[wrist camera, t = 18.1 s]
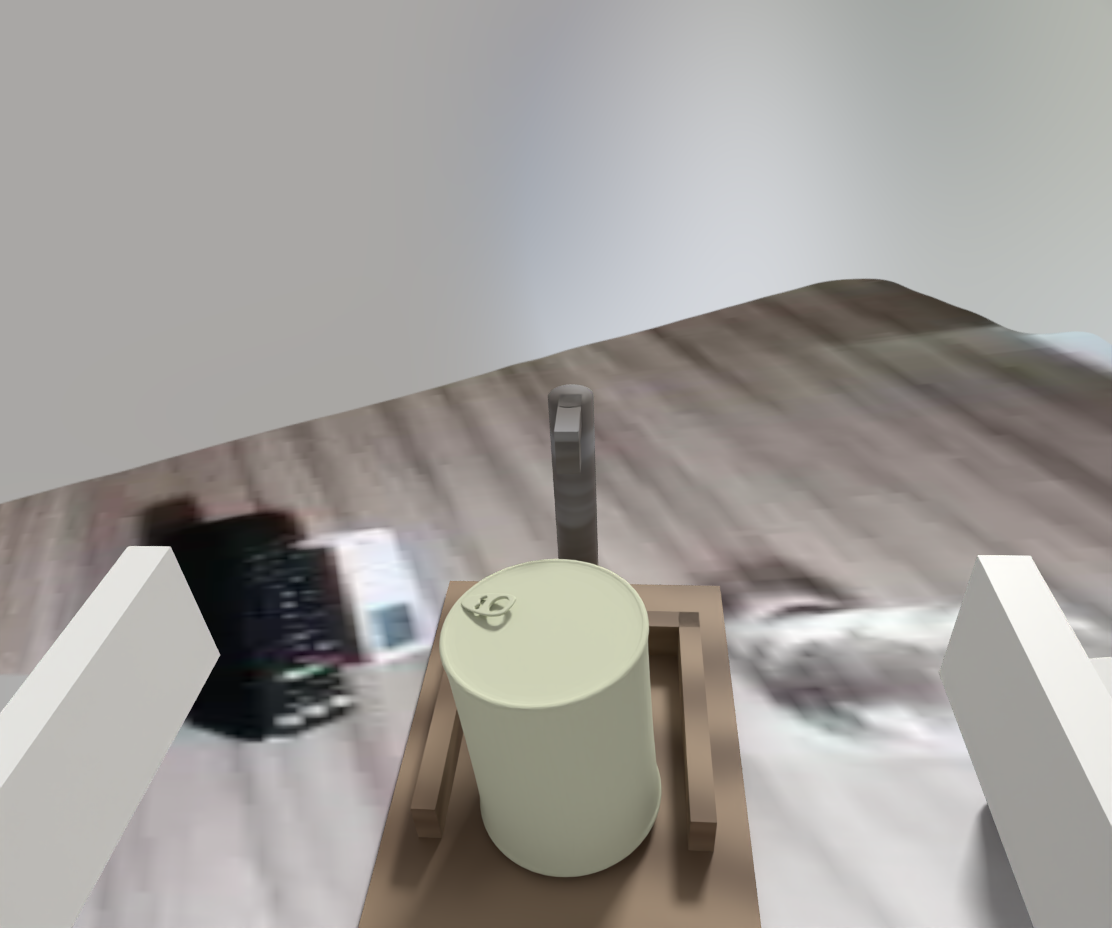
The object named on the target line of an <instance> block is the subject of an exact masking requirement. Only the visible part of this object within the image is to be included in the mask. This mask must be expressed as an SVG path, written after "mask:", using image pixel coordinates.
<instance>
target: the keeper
mask: <svg viewBox="0 0 1112 928" xmlns="http://www.w3.org/2000/svg"><path fill="white" fill-rule="evenodd" d="M548 407H549V422H550V437H551V452H552V467H553V482H554V497H555V513H556V528H557V543H558V558H559V559H567V560H577V561H582V562H587V563H591V564H594V565H597V566H598V540H597V504H596V468H595V432H594V396H593V392H592V391H591V390H590V389H589V388H587V387H585V386H581V385H563V386H559V387H557V388H555V389H553V390H552V391H551V392H550V393H549V394H548ZM478 582H479V581H450V583H449V587H448V590H447V594H446V598H445V602H444V606H443V609H442V613H441V617H440V621H439V624H438V628H437V632H436V636H435V640H434V643H433V647H432V651H431V655H430V658H429V662H428V666H427V670H426V674H425V677H424V681H423V685H422V689H421V692H420V696H419V700H418V704H417V708H416V711H415V715H414V719H413V723H412V726H411V730H410V734H409V738H408V742H407V745H406V749H405V753H404V757H403V760H402V764H401V768H400V772H399V776H398V779H397V783H396V787H395V791H394V794H393V798H392V802H391V806H390V809H389V813H388V817H387V821H386V825H385V828H384V832H383V836H382V840H381V843H380V847H379V851H378V855H377V859H376V862H375V866H374V870H373V874H372V877H371V881H370V885H369V889H368V893H367V896H366V900H365V904H364V908H363V911H362V915H361V919H360V923H359V927H358V928H761V922H760V914H759V906H758V897H757V889H756V881H755V873H754V864H753V856H752V848H751V840H750V831H749V823H748V815H747V806H746V798H745V790H744V782H743V773H742V765H741V757H740V749H739V740H738V732H737V724H736V716H735V707H734V699H733V691H732V683H731V674H730V666H729V658H728V649H727V641H726V633H725V625H724V616H723V608H722V600H721V592H720V586H693V585H639V584H630V585H631V586H632V587H633V588H634V589H635V590H636V592H637V593H638V595H639V596H640V598H641V599H642V601H643V603H644V605H645V608H646V611H647V615H648V621H649V635H648V654H649V672H650V688H651V703H652V718H653V731H654V742H655V754H656V764H657V767H658V770H659V774H660V778H661V802H660V807H659V811H658V814H657V817H656V820H655V822H654V824H653V826H652V828H651V830H650V831H649V833H648V835H647V836H646V837H645V839H644V840H643V841H642V843H641V844H640V845H639V846H638V847H637V848H636V849H635V850H634V851H633V852H632V853H631V854H630V855H628V856H627V857H625V858H624V859H623V860H621V861H620V862H618V863H616V864H614V865H612V866H610V867H609V868H607V869H604V870H601V871H599V872H596V873H592V874H589V875H584V876H577V877H554V876H547V875H543V874H539V873H536V872H532V871H530V870H528V869H526V868H523V867H521V866H520V865H518V864H516V863H515V862H513V861H512V860H510V859H509V858H508V857H507V856H505V855H504V854H503V853H502V852H501V851H500V850H499V849H498V847H497V846H496V845H495V844H494V842H493V841H492V839H491V838H490V836H489V834H488V832H487V830H486V828H485V825H484V822H483V819H482V815H481V809H480V795H479V790H478V786H477V782H476V778H475V774H474V770H473V766H472V762H471V759H470V755H469V751H468V747H467V743H466V740H465V736H464V732H463V729H462V725H461V722H460V718H459V715H458V711H457V707H456V704H455V700H454V697H453V693H452V690H451V686H450V682H449V679H448V676H447V674H446V672H445V670H444V668H443V665H442V661H441V658H440V652H439V641H440V633H441V630H442V626H443V623H444V621H445V619H446V617H447V615H448V613H449V612H450V610H451V608H452V607H453V606H454V604H455V603H456V602H457V601H458V599H459V598H460V597H461V596H462V595H463V594H464V593H465V592H466V591H468V590H469V589H470V588H471V587H473V586H474V585H475V584H477V583H478Z"/></svg>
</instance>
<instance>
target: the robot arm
mask: <svg viewBox="0 0 1112 928" xmlns="http://www.w3.org/2000/svg"><path fill="white" fill-rule="evenodd" d="M219 656H220V654H219V652H218V649H217V647H216V645H215V643H214V641H213V639H212V636H211V634H210V632H209V630H208V628H207V625H206V623H205V621H204V619H203V617H202V615H201V612H200V610H199V608H198V606H197V604H196V601H195V599H194V597H193V595H192V593H191V590H190V588H189V586H188V584H187V582H186V580H185V577H184V575H183V573H182V571H181V569H180V566H179V564H178V562H177V560H176V558H175V556H174V553H173V551H172V549H171V547H159V546H128V547H127V549H126V550H125V551H124V553H123V554H122V555H121V556H120V558H119V559H118V560H117V562H116V563H115V564H114V566H113V567H112V568H111V569H110V571H109V572H108V573H107V575H106V576H105V577H104V579H103V580H102V581H101V583H100V584H99V585H98V586H97V588H96V589H95V590H94V592H93V593H92V594H91V596H90V597H89V598H88V599H87V601H86V602H85V603H84V605H83V606H82V607H81V609H80V610H79V611H78V613H77V614H76V615H75V616H74V618H73V619H72V620H71V622H70V623H69V624H68V626H67V627H66V628H65V629H64V631H63V632H62V633H61V635H60V636H59V637H58V639H57V640H56V641H55V643H54V644H53V645H52V646H51V648H50V649H49V650H48V652H47V653H46V654H45V656H44V657H43V658H42V659H41V661H40V662H39V663H38V665H37V666H36V667H35V669H34V670H33V671H32V673H31V674H30V675H29V677H28V678H27V679H26V680H25V682H24V683H23V684H22V686H21V687H20V688H19V689H18V691H17V692H16V694H15V695H14V696H13V697H12V699H11V700H10V701H9V703H8V704H7V705H6V706H5V708H4V709H3V710H2V712H1V713H0V928H72V927H73V925H74V923H75V922H76V920H77V918H78V916H79V914H80V912H81V911H82V909H83V907H84V905H85V903H86V901H87V899H88V898H89V896H90V894H91V892H92V890H93V888H94V887H95V885H96V883H97V881H98V879H99V877H100V875H101V874H102V872H103V870H104V868H105V866H106V864H107V863H108V861H109V859H110V857H111V855H112V853H113V851H114V850H115V848H116V846H117V844H118V842H119V840H120V839H121V837H122V835H123V833H124V831H125V829H126V827H127V826H128V824H129V822H130V820H131V818H132V816H133V815H134V813H135V811H136V809H137V807H138V805H139V803H140V802H141V800H142V798H143V796H144V794H145V792H146V791H147V789H148V787H149V785H150V783H151V781H152V779H153V778H154V776H155V774H156V772H157V770H158V768H159V767H160V765H161V763H162V761H163V759H164V757H165V756H166V754H167V752H168V750H169V748H170V746H171V744H172V743H173V741H174V739H175V737H176V735H177V733H178V732H179V730H180V728H181V726H182V724H183V722H184V720H185V719H186V717H187V715H188V713H189V711H190V709H191V708H192V706H193V704H194V702H195V700H196V698H197V696H198V695H199V693H200V691H201V689H202V687H203V685H204V684H205V682H206V680H207V678H208V676H209V674H210V672H211V671H212V669H213V667H214V665H215V663H216V661H217V660H218V658H219ZM939 675H940V678H941V680H942V683H943V686H944V688H945V691H946V694H947V696H948V699H949V702H950V704H951V707H952V710H953V712H954V715H955V718H956V720H957V723H958V726H959V729H960V731H961V734H962V737H963V739H964V742H965V745H966V747H967V750H968V753H969V755H970V758H971V761H972V763H973V766H974V769H975V771H976V774H977V777H978V779H979V782H980V785H981V787H982V790H983V793H984V796H985V798H986V801H987V804H988V806H989V809H990V812H991V814H992V817H993V820H994V822H995V825H996V828H997V830H998V833H999V836H1000V838H1001V841H1002V844H1003V846H1004V849H1005V852H1006V855H1007V857H1008V860H1009V863H1010V865H1011V868H1012V871H1013V873H1014V876H1015V879H1016V881H1017V884H1018V887H1019V889H1020V892H1021V895H1022V897H1023V900H1024V903H1025V905H1026V908H1027V911H1028V914H1029V916H1030V919H1031V922H1032V924H1033V927H1034V928H1112V698H1111V696H1110V694H1109V693H1108V691H1107V689H1106V687H1105V686H1104V684H1103V682H1102V680H1101V679H1100V677H1099V675H1098V673H1097V672H1096V670H1095V668H1094V666H1093V665H1092V663H1091V661H1090V659H1089V658H1088V656H1087V654H1086V652H1085V651H1084V649H1083V647H1082V645H1081V644H1080V642H1079V640H1078V638H1077V637H1076V635H1075V633H1074V631H1073V630H1072V628H1071V626H1070V624H1069V623H1068V621H1067V619H1066V617H1065V616H1064V614H1063V612H1062V610H1061V609H1060V607H1059V605H1058V603H1057V602H1056V600H1055V598H1054V596H1053V595H1052V593H1051V591H1050V589H1049V588H1048V586H1047V584H1046V582H1045V581H1044V579H1043V577H1042V575H1041V574H1040V572H1039V570H1038V568H1037V567H1036V565H1035V563H1034V561H1033V560H1032V558H1031V556H999V555H977V558H976V561H975V565H974V568H973V571H972V574H971V577H970V580H969V583H968V586H967V589H966V592H965V595H964V598H963V601H962V604H961V607H960V610H959V614H958V617H957V620H956V623H955V626H954V629H953V632H952V635H951V638H950V641H949V644H948V647H947V650H946V653H945V656H944V659H943V663H942V666H941V669H940V672H939Z"/></svg>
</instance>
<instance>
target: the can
mask: <svg viewBox="0 0 1112 928" xmlns="http://www.w3.org/2000/svg"><path fill="white" fill-rule="evenodd" d="M648 635H649V621H648V615H647V611H646V608H645V605H644V603H643V601H642V599H641V598H640V596H639V595H638V593H637V592H636V590H635V589H634V588H633V587H632V586H631V585H630V584H629V583H628V582H627V581H625V580H624V579H623V578H621V577H620V576H618V575H617V574H615V573H613V572H612V571H610V570H607V569H605V568H603V567H600V566H597V565H594V564H591V563H587V562H582V561H577V560H567V559H546V560H537V561H530V562H526V563H522V564H517V565H514V566H511V567H508V568H505V569H503V570H500V571H498V572H496V573H494V574H492V575H490V576H488V577H486V578H484V579H483V580H481V581H480V582H478V583H477V584H475V585H474V586H473V587H471V588H470V589H469V590H468V591H466V592H465V593H464V594H463V595H462V596H461V597H460V598H459V599H458V601H457V602H456V603H455V604H454V606H453V607H452V608H451V610H450V612H449V613H448V615H447V617H446V619H445V621H444V623H443V626H442V630H441V633H440V641H439V652H440V658H441V661H442V665H443V668H444V670H445V672H446V674H447V676H448V679H449V682H450V686H451V690H452V693H453V697H454V700H455V704H456V707H457V711H458V715H459V718H460V722H461V725H462V729H463V732H464V736H465V740H466V743H467V747H468V751H469V755H470V759H471V762H472V766H473V770H474V774H475V778H476V782H477V786H478V790H479V795H480V809H481V815H482V819H483V822H484V825H485V828H486V830H487V832H488V834H489V836H490V838H491V839H492V841H493V842H494V844H495V845H496V846H497V847H498V849H499V850H500V851H501V852H502V853H503V854H504V855H505V856H507V857H508V858H509V859H510V860H512V861H513V862H515V863H516V864H518V865H520V866H521V867H523V868H526V869H528V870H530V871H532V872H536V873H539V874H543V875H547V876H554V877H577V876H584V875H589V874H592V873H596V872H599V871H601V870H604V869H607V868H609V867H610V866H612V865H614V864H616V863H618V862H620V861H621V860H623V859H624V858H625V857H627V856H628V855H630V854H631V853H632V852H633V851H634V850H635V849H636V848H637V847H638V846H639V845H640V844H641V843H642V841H643V840H644V839H645V837H646V836H647V835H648V833H649V831H650V830H651V828H652V826H653V824H654V822H655V820H656V817H657V814H658V811H659V807H660V802H661V778H660V774H659V770H658V767H657V764H656V754H655V742H654V731H653V718H652V703H651V688H650V672H649V654H648Z"/></svg>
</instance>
